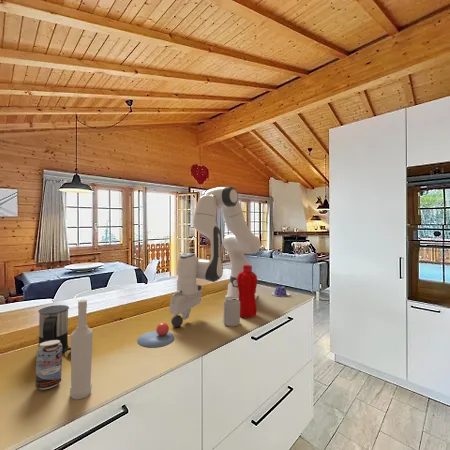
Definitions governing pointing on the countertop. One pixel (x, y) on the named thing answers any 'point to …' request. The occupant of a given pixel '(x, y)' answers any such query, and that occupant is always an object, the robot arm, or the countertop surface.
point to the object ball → (162, 329)
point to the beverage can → (48, 364)
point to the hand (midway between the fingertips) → (185, 318)
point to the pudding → (280, 291)
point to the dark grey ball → (177, 321)
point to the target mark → (155, 339)
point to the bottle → (81, 355)
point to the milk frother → (54, 325)
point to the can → (231, 311)
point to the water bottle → (247, 292)
